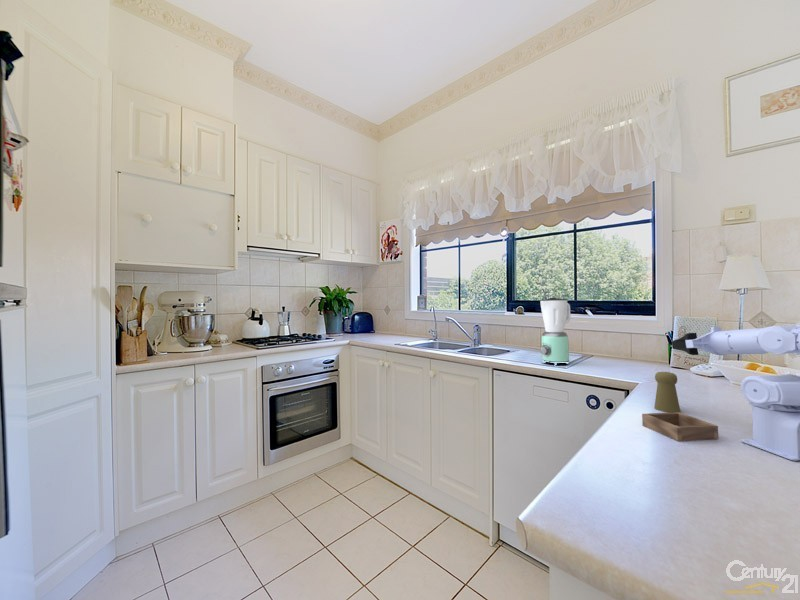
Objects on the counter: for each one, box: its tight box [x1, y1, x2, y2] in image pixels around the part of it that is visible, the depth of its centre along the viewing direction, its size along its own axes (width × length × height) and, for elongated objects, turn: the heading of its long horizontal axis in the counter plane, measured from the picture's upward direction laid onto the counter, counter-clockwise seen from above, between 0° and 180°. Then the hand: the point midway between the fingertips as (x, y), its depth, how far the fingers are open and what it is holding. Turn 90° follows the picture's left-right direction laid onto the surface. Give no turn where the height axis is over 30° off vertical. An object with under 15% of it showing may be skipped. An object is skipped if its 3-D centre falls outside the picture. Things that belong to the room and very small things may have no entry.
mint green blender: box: [539, 297, 571, 363], centre depth 175 cm, size 19×13×35 cm
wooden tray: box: [641, 412, 719, 442], centre depth 80 cm, size 10×10×3 cm
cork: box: [653, 371, 681, 413], centre depth 97 cm, size 6×6×11 cm
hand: (686, 344), depth 91 cm, fingers open, 7 cm apart
